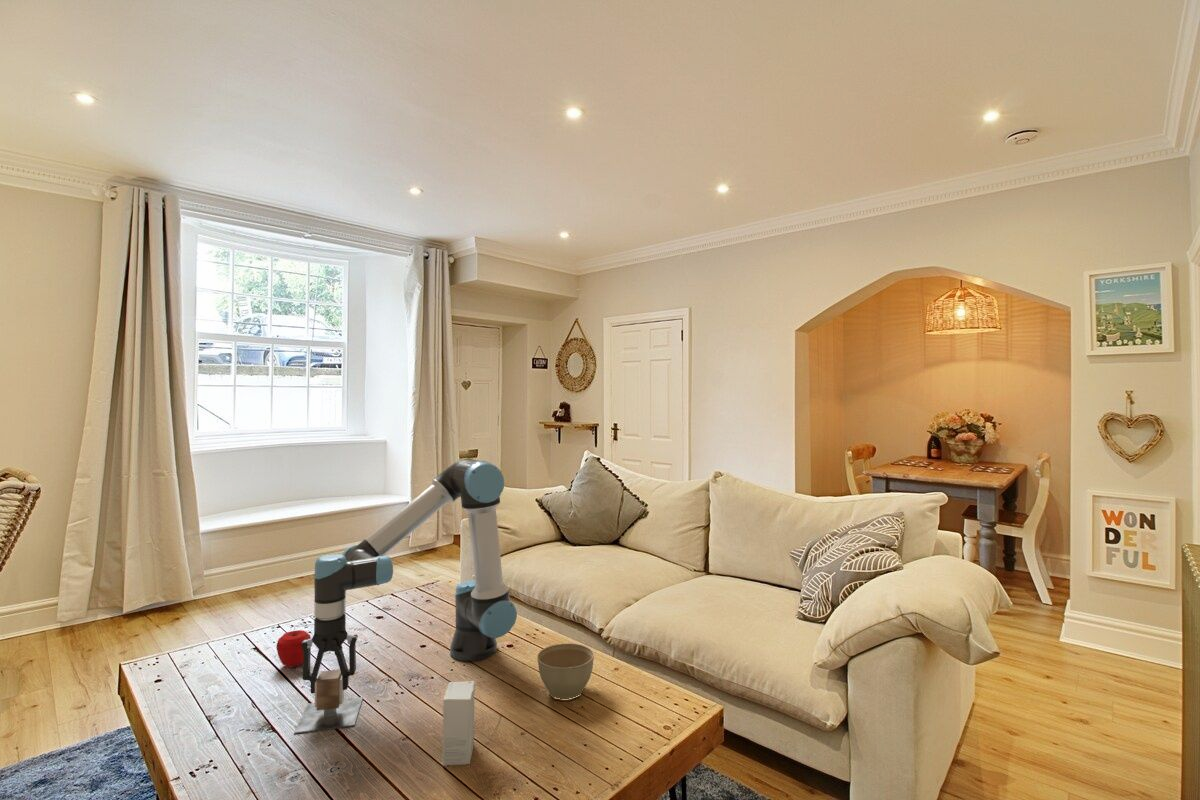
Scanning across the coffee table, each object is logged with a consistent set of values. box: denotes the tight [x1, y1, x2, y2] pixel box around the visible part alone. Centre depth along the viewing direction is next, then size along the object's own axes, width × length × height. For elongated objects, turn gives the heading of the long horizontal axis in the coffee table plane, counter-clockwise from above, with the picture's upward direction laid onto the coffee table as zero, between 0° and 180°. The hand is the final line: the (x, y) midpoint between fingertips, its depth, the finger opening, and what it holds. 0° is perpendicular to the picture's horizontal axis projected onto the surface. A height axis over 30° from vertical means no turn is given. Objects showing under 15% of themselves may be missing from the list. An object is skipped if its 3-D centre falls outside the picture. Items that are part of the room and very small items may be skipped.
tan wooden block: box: [317, 668, 342, 710], centre depth 152 cm, size 5×5×8 cm
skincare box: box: [442, 680, 476, 767], centre depth 135 cm, size 8×7×16 cm
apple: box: [275, 629, 312, 668], centre depth 181 cm, size 10×10×11 cm
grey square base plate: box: [293, 696, 363, 735], centre depth 152 cm, size 14×14×6 cm
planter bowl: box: [537, 642, 595, 699], centre depth 164 cm, size 16×16×11 cm
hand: (329, 702), depth 152 cm, fingers closed on tan wooden block, 5 cm apart
